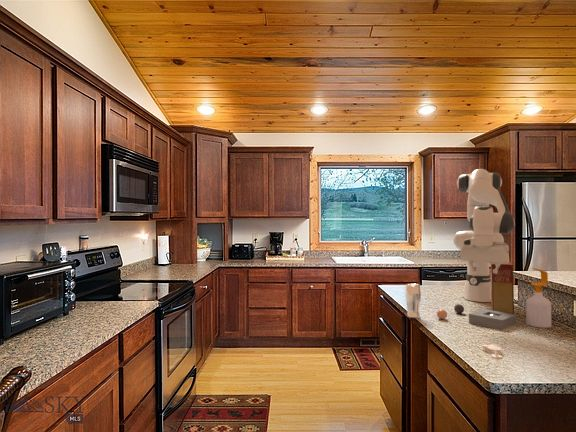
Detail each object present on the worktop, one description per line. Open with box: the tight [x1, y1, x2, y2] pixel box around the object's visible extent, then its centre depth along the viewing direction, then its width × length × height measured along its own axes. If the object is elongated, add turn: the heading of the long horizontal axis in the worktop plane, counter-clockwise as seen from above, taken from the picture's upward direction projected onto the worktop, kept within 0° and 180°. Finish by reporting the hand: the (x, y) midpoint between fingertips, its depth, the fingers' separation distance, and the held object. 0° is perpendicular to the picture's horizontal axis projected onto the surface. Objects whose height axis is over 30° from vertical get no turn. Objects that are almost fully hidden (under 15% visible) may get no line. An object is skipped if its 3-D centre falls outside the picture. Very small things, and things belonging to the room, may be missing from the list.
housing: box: [468, 308, 517, 331], centre depth 168 cm, size 14×14×4 cm
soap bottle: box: [525, 267, 552, 329], centre depth 165 cm, size 9×9×25 cm
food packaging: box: [490, 261, 515, 314], centre depth 182 cm, size 13×9×25 cm
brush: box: [481, 343, 503, 360], centre depth 132 cm, size 9×9×2 cm
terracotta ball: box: [436, 308, 448, 320], centre depth 176 cm, size 4×4×4 cm
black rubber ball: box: [453, 303, 465, 314], centre depth 186 cm, size 4×4×4 cm
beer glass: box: [405, 283, 422, 319], centre depth 181 cm, size 7×7×15 cm
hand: (484, 272), depth 172 cm, fingers open, 8 cm apart
